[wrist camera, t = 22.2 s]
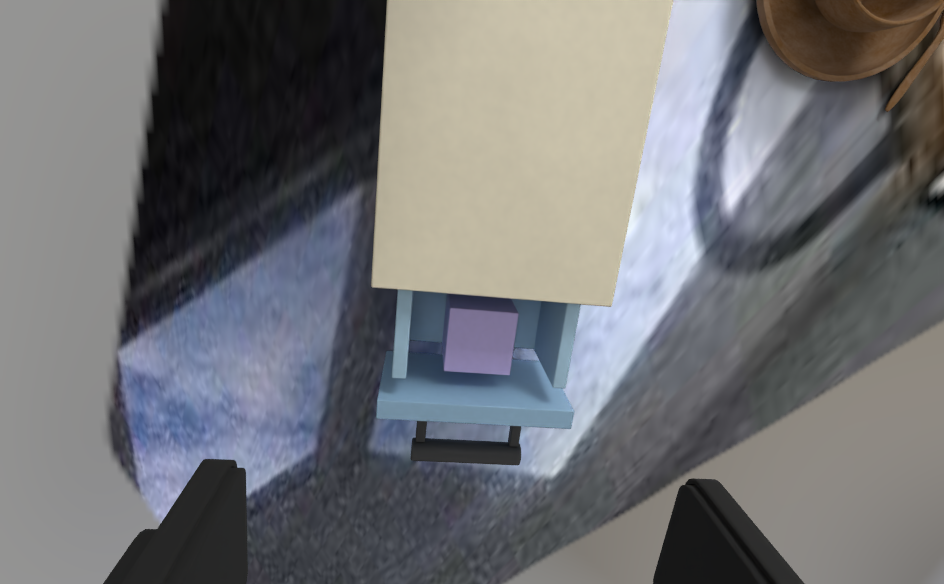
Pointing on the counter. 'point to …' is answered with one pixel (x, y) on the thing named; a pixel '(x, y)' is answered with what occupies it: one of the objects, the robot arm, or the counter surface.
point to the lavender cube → (479, 334)
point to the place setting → (850, 36)
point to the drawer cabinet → (512, 144)
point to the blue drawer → (477, 380)
